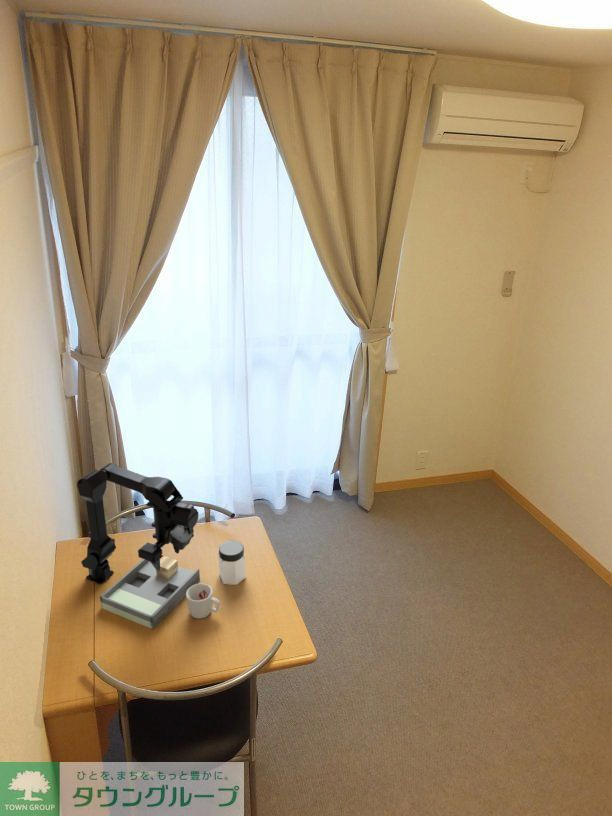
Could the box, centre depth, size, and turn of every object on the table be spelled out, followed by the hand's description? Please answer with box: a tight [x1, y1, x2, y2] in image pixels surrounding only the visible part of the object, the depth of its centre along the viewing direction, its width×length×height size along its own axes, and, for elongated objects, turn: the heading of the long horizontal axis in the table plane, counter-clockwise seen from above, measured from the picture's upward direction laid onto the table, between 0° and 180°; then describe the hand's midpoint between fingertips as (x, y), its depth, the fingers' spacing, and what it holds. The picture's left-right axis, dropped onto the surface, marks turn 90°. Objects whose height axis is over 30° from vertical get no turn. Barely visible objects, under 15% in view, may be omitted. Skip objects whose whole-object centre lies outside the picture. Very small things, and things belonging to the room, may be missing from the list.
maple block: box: [156, 555, 179, 579], centre depth 181 cm, size 5×5×4 cm
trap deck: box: [99, 558, 201, 630], centre depth 175 cm, size 20×24×4 cm
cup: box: [185, 583, 221, 619], centre depth 167 cm, size 11×8×8 cm
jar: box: [218, 539, 246, 586], centre depth 181 cm, size 9×8×12 cm
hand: (167, 561), depth 169 cm, fingers open, 9 cm apart
